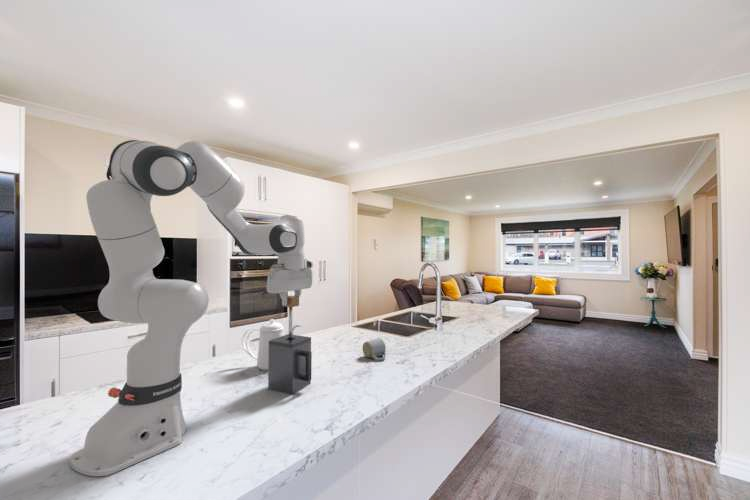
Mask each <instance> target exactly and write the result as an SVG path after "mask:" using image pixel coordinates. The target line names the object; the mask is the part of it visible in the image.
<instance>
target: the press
mask: <svg viewBox="0 0 750 500" xmlns="http://www.w3.org/2000/svg"><path fill="white" fill-rule="evenodd" d="M267 371H268V374H267V375H268V377H267V379H268V381H267V383H268V387H267V389H268V390H270V391H273V392H274V391H275V392H278V393H283V394H287V395H290V396H291V395H294V394H296V393H298V392H299V391H301V390H303V389H305V388H306V387H308V386H309V385H311V383H312V382H311V381H312V336H311V337H310V336H303V335H298V334H297V335H296V334H293V335H292V340H289V333H287V334H284V336H281V337H278V338H276V339H273V340H270V341H269V364H268V370H267Z"/></svg>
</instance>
